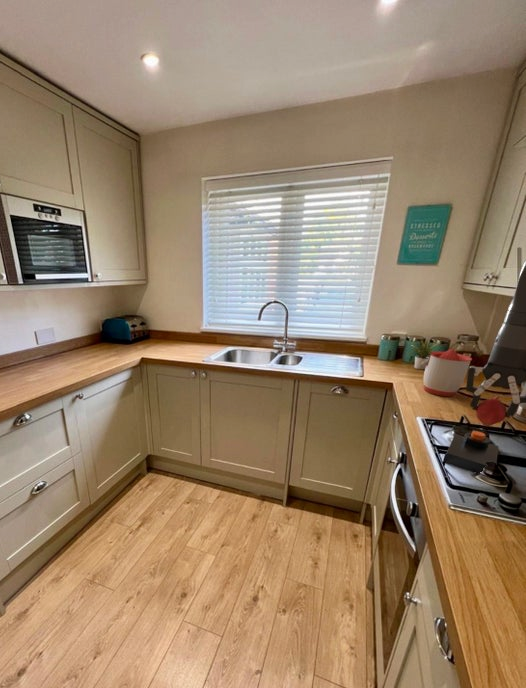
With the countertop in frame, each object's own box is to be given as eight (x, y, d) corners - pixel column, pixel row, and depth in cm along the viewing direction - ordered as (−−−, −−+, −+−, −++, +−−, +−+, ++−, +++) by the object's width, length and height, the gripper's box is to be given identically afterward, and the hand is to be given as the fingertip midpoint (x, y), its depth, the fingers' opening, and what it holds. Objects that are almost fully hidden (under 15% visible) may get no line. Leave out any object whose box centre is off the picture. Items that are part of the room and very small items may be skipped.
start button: (470, 434, 101) (472, 429, 100) (483, 438, 99) (485, 433, 98) (469, 438, 99) (471, 433, 98) (483, 442, 97) (485, 437, 96)
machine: (451, 441, 106) (456, 428, 104) (495, 454, 100) (501, 440, 98) (443, 462, 94) (448, 447, 93) (491, 478, 88) (498, 462, 86)
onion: (465, 420, 84) (475, 391, 81) (485, 420, 85) (496, 391, 82) (485, 431, 79) (496, 400, 76) (506, 430, 80) (519, 400, 76)
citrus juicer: (416, 383, 160) (428, 342, 153) (459, 391, 151) (474, 348, 143) (412, 392, 148) (425, 348, 141) (459, 401, 139) (475, 355, 132)
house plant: (425, 364, 192) (433, 336, 185) (441, 371, 179) (450, 342, 173) (401, 364, 191) (409, 336, 185) (416, 371, 178) (424, 341, 172)
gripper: (558, 347, 73) (528, 416, 79) (477, 337, 81) (457, 400, 87) (561, 353, 67) (529, 427, 74) (475, 342, 76) (453, 408, 82)
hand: (490, 412), depth 81 cm, fingers closed on onion, 6 cm apart
